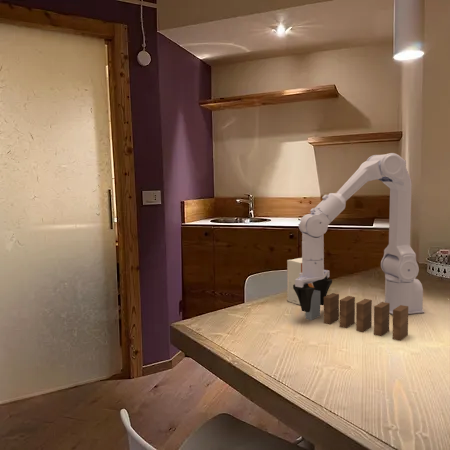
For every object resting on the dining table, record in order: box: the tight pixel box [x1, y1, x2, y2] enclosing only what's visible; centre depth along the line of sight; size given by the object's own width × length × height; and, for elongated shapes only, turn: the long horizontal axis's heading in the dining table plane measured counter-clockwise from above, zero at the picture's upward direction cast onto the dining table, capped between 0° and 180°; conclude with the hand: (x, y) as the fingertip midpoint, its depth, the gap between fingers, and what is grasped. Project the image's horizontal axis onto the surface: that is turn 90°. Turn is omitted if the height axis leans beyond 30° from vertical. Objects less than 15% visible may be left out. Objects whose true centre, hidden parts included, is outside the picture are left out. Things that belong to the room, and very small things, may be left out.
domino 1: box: [323, 292, 340, 325], centre depth 113 cm, size 2×5×7 cm, turn 138°
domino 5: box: [392, 305, 409, 342], centre depth 101 cm, size 2×5×7 cm, turn 138°
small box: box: [286, 257, 314, 306], centre depth 132 cm, size 8×6×13 cm
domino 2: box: [339, 295, 356, 329], centre depth 110 cm, size 2×5×7 cm, turn 138°
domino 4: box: [373, 301, 390, 337], centre depth 104 cm, size 2×5×7 cm, turn 138°
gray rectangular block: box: [304, 290, 321, 321], centre depth 117 cm, size 2×5×7 cm, turn 138°
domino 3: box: [355, 298, 373, 333], centre depth 107 cm, size 2×5×7 cm, turn 137°
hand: (313, 307), depth 117 cm, fingers open, 7 cm apart
